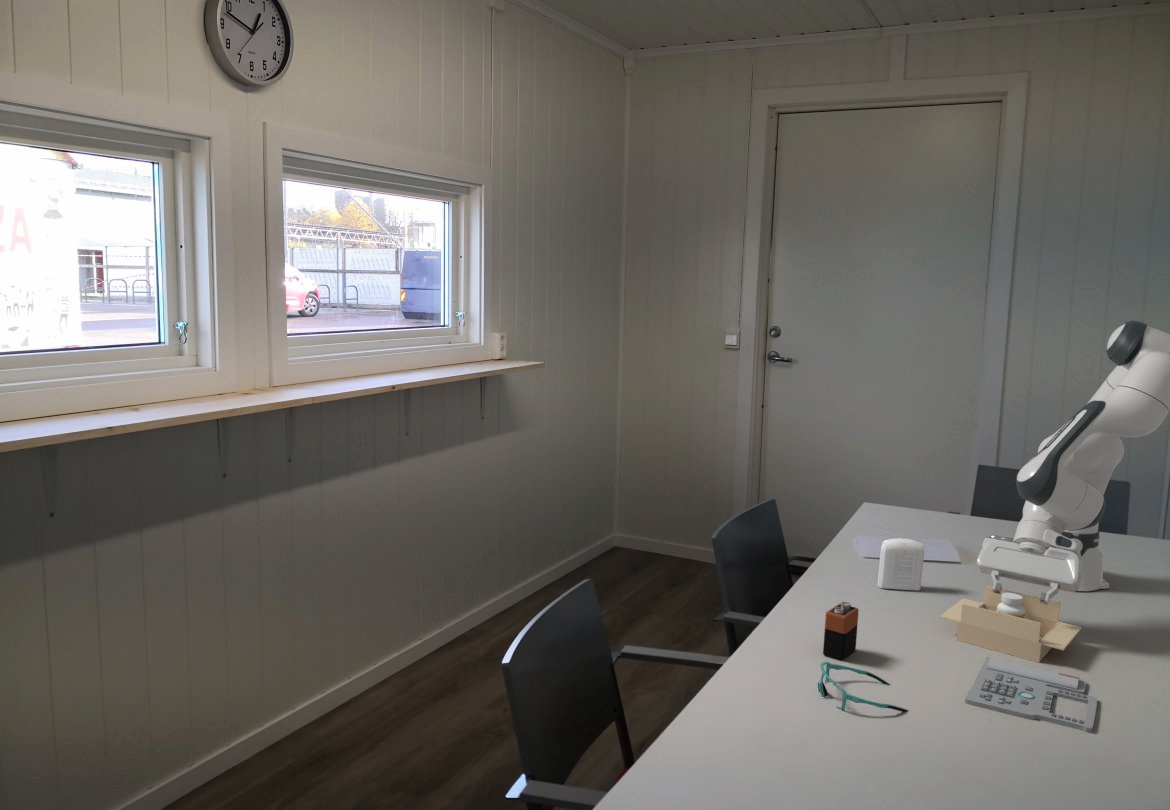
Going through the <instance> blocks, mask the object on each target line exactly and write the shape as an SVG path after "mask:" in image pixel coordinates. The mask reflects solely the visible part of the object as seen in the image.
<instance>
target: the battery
mask: <svg viewBox="0 0 1170 810" xmlns="http://www.w3.org/2000/svg"><path fill="white" fill-rule="evenodd" d="M859 611H860V610H859V608H858V607H855V606H852V604H851V602H849V601H841V602H840V603H838V604H836V605H835V606H833V607H831V608H830V609H829V610H827V611H826V613H825V620H824V634H823V635H824V636H823V650H822V654H823V655H824V656H825V655H826V656H825V657H828V656H829V657H828V658H831V659H835V658H836V660H838V659H839V661H844V660H845V659H847V657H849V656H850V655H852V653H854V652H855V651H856V648H857V638H858V637H857V636H858V623H859Z"/></svg>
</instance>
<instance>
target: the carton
mask: <svg viewBox="0 0 1170 810" xmlns="http://www.w3.org/2000/svg"><path fill="white" fill-rule="evenodd" d="M992 588H993V586H990V585H985V589H984V598H983V599H984V600H983V601H981V602H980V601H979V602H978V601H976V600H972V599H967V598H961V599H960V600H959V601H957V602H956V603H955V604H953V605H952V606H951V607H950V608H948V609H947V610H946V611H944V612H943V613H942V614H940V615H939V619H943V620H945V621H951V622H954V623H957V631H956V632H957V633H956V641H958V642H963V643H967V644H970V645H973V646H977V647H981V648H984V649H988V650H992V651H995V652H999V653H1003V654H1006V655H1010V656H1013V657H1016V658H1021V659H1023V660H1024V659H1025V660H1027V661H1032V662H1035V663H1040V662H1041V661H1042V660H1043V659H1044V657H1045V656H1046V655H1047V654H1048V653H1049V651H1051V649H1052V648H1053V649H1056V650H1061V651H1065V650H1066V649H1067V647H1068V646H1069V645H1070V643H1071V642H1073V640H1074V639H1075V638H1076V636H1077V635H1078V634H1079V633H1080V631H1081V630H1082V628H1083V627H1081V626H1078V625H1073V624H1070V623H1065V622H1061V620H1060V619H1059V618H1060V608H1061V602H1058V601H1055V600H1051V599H1050V601H1049V604H1048V605H1046V604H1042V603H1040V597H1037V596H1033V595H1029V594H1024V593H1020V592H1015V591H1012V590H1006V589H1003V588H1002V591H1001V594H997V593H993V591H992ZM1003 593H1015V594H1018V595H1020V596H1022V597H1023V602H1022V605H1021V606H1022V607H1024V609H1025V619H1023V618H1019V617H1015V616H1011V615H1007V614H1003V613H999V612H997V606H998V604H999V603H1002V599H1001V598H1002V594H1003ZM1040 637H1042V638H1041V639H1040Z"/></svg>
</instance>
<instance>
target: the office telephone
mask: <svg viewBox="0 0 1170 810" xmlns="http://www.w3.org/2000/svg"><path fill="white" fill-rule="evenodd" d="M1086 687H1087V681H1086V680H1083V679H1080V677H1079V676H1076V675H1071V674H1066V673H1063V672H1059V671H1054V670H1050V669H1049V670H1048V669H1045V668H1040V667H1036V666H1032V665H1028V664H1027V665H1026V664H1023V663H1020V662H1019V663H1018V662H1015V661H1010V660H1005V659H1000V658H997V657H992V656H989V657H988V656H987V657H986V658H985V660H984V662H983V664H982V666H981V668H980V670H979V672H978V674H977V676H976V678H975V680H974V683H973V684H972V686H971V689H970V690H969V691H968V692H967V694H966V696H965V698H964V704H967V705H970V706H974V707H978V708H981V709H987V710H989V711H994V712H997V713H1002V714H1006V715H1010V716H1014V717H1018V718H1022V719H1026V720H1031V721H1032V720H1033V721H1035V720H1039V721H1043V722H1048V723H1051V724H1055V725H1060V726H1063V727H1067V728H1072V729H1076V730H1080V731H1083V732H1085V733H1089V734H1090V733H1092V732H1093V729H1094V724H1095V718H1096V713H1097V706H1098V697H1096V696H1092V695H1087V694H1085V693H1086ZM1054 697H1059V698H1061V699H1066V700H1070V701H1075V702H1079V703H1084V704H1087V710H1086V715H1085V719H1083V720H1082V719H1078V718H1075V717H1070V716H1065V715H1062V714H1056V713H1055V712H1050V711H1051V707H1052V703H1053V699H1054Z"/></svg>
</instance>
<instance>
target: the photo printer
mask: <svg viewBox="0 0 1170 810" xmlns="http://www.w3.org/2000/svg"><path fill="white" fill-rule="evenodd" d="M880 547H881V548H880V553H879V555H880V556H879V565H878V576H877V587H879V589H888V590H891V589H892V590H902V591H905V590H906V591H917V592H918V591H921V586H922V578H923V577H922V576H923V569H924V568H923V567H924V556H925V546H924V544H923V543H921V542H920V541H918V540H914V539H911V538H910V539H909V538H900V537H899V538H890V539H885V540H883V541H882V542H881V546H880Z"/></svg>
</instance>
